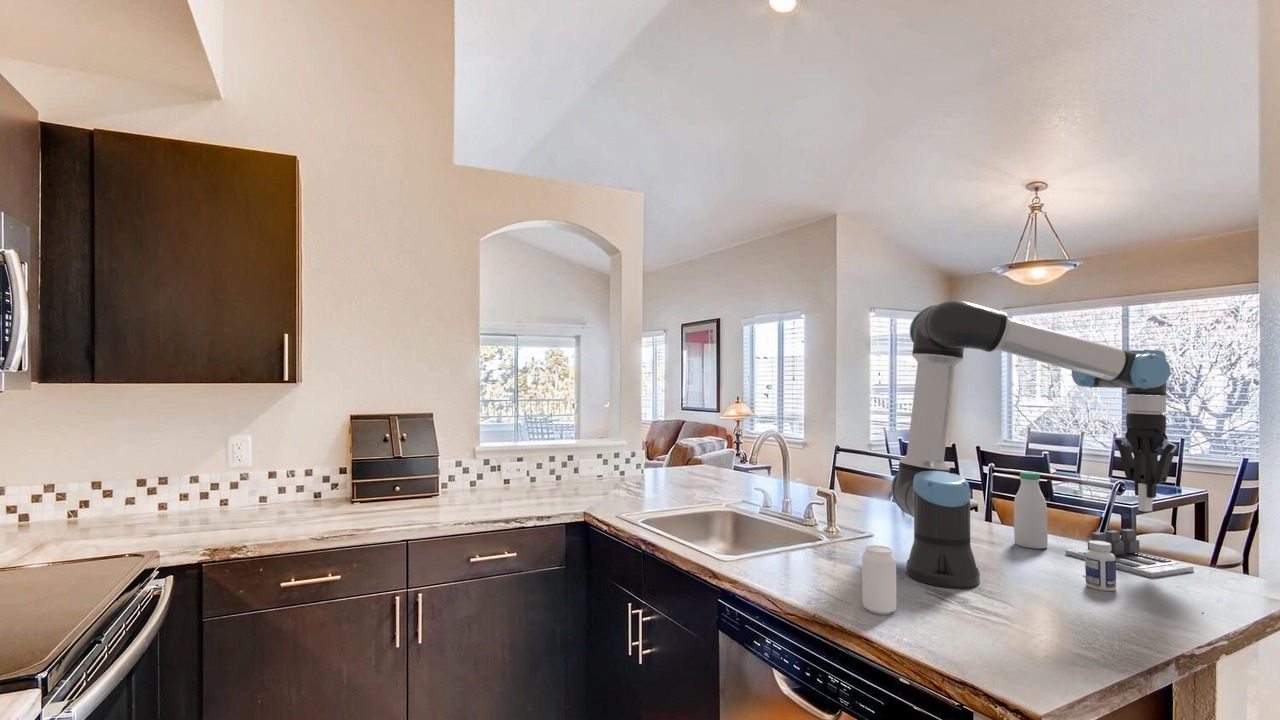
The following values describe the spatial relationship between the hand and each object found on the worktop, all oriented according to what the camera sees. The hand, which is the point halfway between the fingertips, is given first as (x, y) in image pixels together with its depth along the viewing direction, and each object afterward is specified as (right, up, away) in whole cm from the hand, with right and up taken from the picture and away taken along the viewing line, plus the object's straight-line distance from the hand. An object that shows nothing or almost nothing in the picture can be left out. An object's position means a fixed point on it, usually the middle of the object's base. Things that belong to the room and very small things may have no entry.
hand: (1145, 510), depth 148 cm
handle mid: (-2, -13, +7) cm, 15 cm away
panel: (-1, -14, +4) cm, 15 cm away
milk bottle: (-15, -15, +20) cm, 29 cm away
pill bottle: (-21, -14, -14) cm, 29 cm away
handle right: (+3, -13, +9) cm, 16 cm away
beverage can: (-75, -13, -28) cm, 82 cm away
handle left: (-7, -13, +5) cm, 15 cm away
